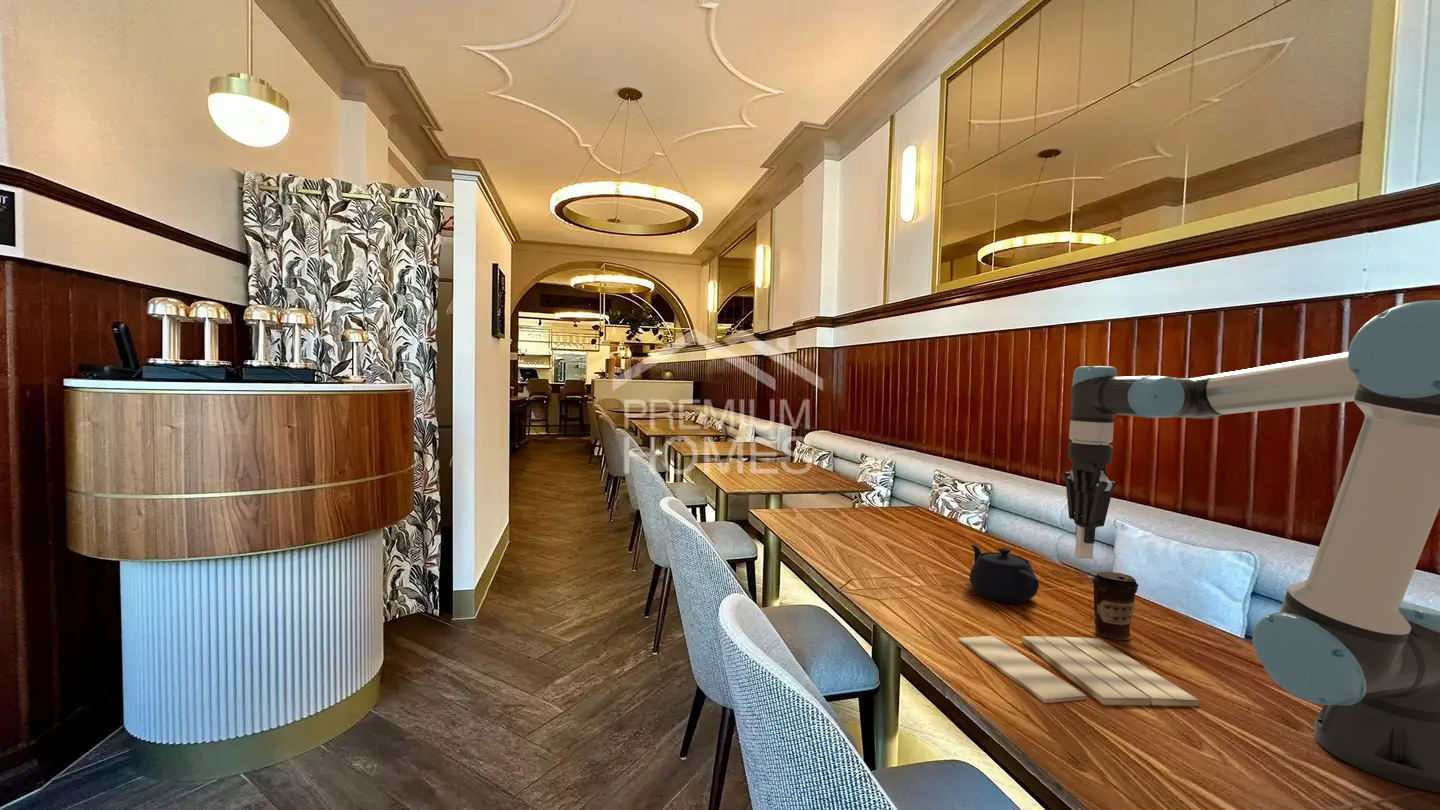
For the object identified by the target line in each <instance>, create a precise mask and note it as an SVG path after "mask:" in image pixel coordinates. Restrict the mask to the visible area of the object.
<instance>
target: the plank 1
mask: <svg viewBox="0 0 1440 810" xmlns="http://www.w3.org/2000/svg"><path fill="white" fill-rule="evenodd" d="M957 641H958V642H959V643H960V644H961V645H963V646H965V647H966V648H967V649H969V650H970V651H972V652H973V653H974V652H975V653H974V654H976V655H977V656H979V657H980V658H982V659H983V660H984V661H986V662H987V661H988V662H989V664H990V665H991V664H992V665H991V666H992V667H994V668H995V667H996V668H995V669H997V670H998V671H1000V672H1001V673H1002V674H1004V675H1005V676H1006V677H1008V678H1010V679H1011V680H1012V681H1014V682H1015V683H1017V684H1018V685H1019V686H1020V687H1022V688H1024V689H1025V690H1026V691H1028V692H1029V693H1031V694H1032V695H1034V696H1035V697H1036V698H1038V700H1040V701H1042V702H1043V703H1044V704H1048V703H1060V702H1061V703H1062V702H1073V701H1081V700H1082V701H1083V700H1087V695H1086V694H1085V693H1083V692H1082V691H1080V690H1079V689H1077V688H1075V687H1074V686H1072V685H1071V684H1069V683H1067V682H1066V681H1065V680H1063V679H1061V678H1060V677H1058V676H1056V675H1055V674H1053V673H1052V672H1050V671H1049V670H1047V669H1046V668H1044V667H1042V666H1041V665H1039V664H1038V663H1036V661H1035V662H1034V661H1033V660H1031V658H1028V657H1027V656H1025V655H1023V654H1022V653H1020V652H1019V651H1017V650H1016V649H1014V648H1012V647H1011V646H1009V645H1008V644H1006V643H1004V642H1003V641H1001V640H1000V639H998V638H997V637H996V636H994V635H984V636H982V635H981V636H980V635H979V636H967V637H958V638H957ZM988 662H987V663H988Z"/></svg>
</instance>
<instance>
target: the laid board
mask: <svg viewBox="0 0 1440 810" xmlns="http://www.w3.org/2000/svg"><path fill="white" fill-rule="evenodd" d="M1021 637H1022V638H1021V641H1022V643H1023V644H1024V645H1025V646H1026V647H1028V648H1030V650H1032V651H1033V652H1034V653H1036V654H1037V655H1039V656H1040V657H1041V658H1043V660H1044V661H1046V662H1047V663H1048V664H1050V665H1051V666H1053V667H1054V668H1055V669H1056V670H1058V671H1059V672H1060V673H1062V674H1063V675H1064V676H1065V677H1067V678H1068V679H1070V680H1071V681H1072V682H1073V683H1075V684H1076V685H1077V686H1078V687H1080V688H1081V689H1082V690H1083V691H1085V692H1086V693H1088V694H1089V695H1090V696H1091V697H1092V698H1094V699H1095V700H1097V701H1098V702H1099V703H1100V704H1102V705H1103V706H1151V704H1150V698H1149V697H1148V696H1146V695H1145V694H1143V693H1142V692H1140V691H1139V690H1137V689H1136V688H1135V687H1133V686H1132V685H1130V684H1129V683H1127V682H1126V681H1124V680H1123V679H1121V678H1120V677H1118V676H1117V675H1115V674H1114V673H1112V672H1111V671H1110V670H1108V669H1107V668H1105V667H1104V666H1102V665H1101V664H1099V663H1098V662H1096V661H1095V660H1093V659H1092V658H1090V657H1089V656H1087V655H1086V654H1085V653H1083V652H1082V651H1080V650H1079V649H1077V648H1076V647H1074V646H1073V645H1071V644H1070V643H1068V642H1067V641H1065V640H1064V639H1062V636H1043V635H1040V636H1038V635H1037V636H1036V635H1035V636H1034V635H1033V636H1032V635H1031V636H1027V635H1025V636H1024V635H1023V636H1021Z"/></svg>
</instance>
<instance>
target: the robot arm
mask: <svg viewBox="0 0 1440 810" xmlns="http://www.w3.org/2000/svg"><path fill="white" fill-rule="evenodd" d="M1070 389H1071V406H1070V421H1069V433H1068V439H1070V441H1071V442H1069V443H1068V451H1067V452H1068V453H1067V458H1068V460H1069V461H1072V462H1073V463H1072V466H1071V470H1069V471H1064V472H1063V479H1064V482H1065V489H1066V497H1067V498H1066V500H1067V501H1066V502H1067V511H1068V518H1069V519H1070V520H1073V523H1074V524H1075V550H1074V558H1075V557H1076V558H1078V559H1081V560H1082V559H1084V560H1093V559H1094V544H1095V538H1096V529H1097V528H1099V527H1100V528H1101V527H1103V528H1104V526H1105V523H1106V519H1107V515H1108V510H1109V507H1110V502H1111V498H1112V494H1113V492H1114V490H1115V488H1117V482H1116V481H1111V480H1110V479H1109V478H1108V477H1107V476H1108V471H1107V465H1108V464H1112V461H1113V446H1112V445H1111V444H1110V443H1112V442H1113V441H1114V423H1115V417H1116V416H1117V415H1118V416H1129V417H1141V418H1146V419H1160V418H1163V419H1165V418H1185V419H1186V418H1187V419H1196V420H1197V419H1198V420H1203V419H1207V420H1208V419H1214V418H1218V417H1220V416H1223V415H1230V414H1231V415H1232V414H1233V415H1234V414H1241V413H1249V412H1250V413H1251V412H1261V411H1271V410H1281V409H1291V408H1292V409H1293V408H1300V407H1301V408H1302V407H1310V406H1320V405H1330V404H1331V405H1332V404H1339V403H1348V402H1354V404H1355V406H1357V407H1358V409H1359V410H1360V411H1362V413H1363V415H1364V419H1363V422H1362V426H1361V429H1360V431H1359V432H1358V433H1359V434H1358V436H1357V439H1356V443H1355V445H1354V448H1353V451H1352V453H1351V456H1350V459H1349V462H1348V465H1347V467H1346V470H1345V473H1344V475H1343V479H1342V482H1341V484H1340V487H1339V490H1338V493H1337V496H1336V499H1335V501H1334V504H1333V506H1332V510H1331V513H1330V516H1329V517H1328V520H1327V524H1326V527H1325V530H1324V531H1323V535H1322V537H1321V541H1320V544H1319V546H1318V550H1317V552H1316V555H1315V558H1314V561H1313V563H1312V566H1311V569H1310V572H1309V575H1308V578H1307V579H1305V580H1302V581H1299V582H1295V583H1291V584H1290V585H1289V587H1288V588H1287V590H1286V592H1285V593H1286V594H1285V596H1284V599H1283V601H1282V604H1281V608H1280V610H1279V611H1277V612H1274V613H1270V614H1268V615H1266V616H1265V617H1263V618H1262V619H1260V620H1259V621H1258V622H1257V623H1256V624H1255V626H1254V628H1253V631H1252V647H1253V651H1254V653H1255V656H1256V658H1257V661H1259V662H1260V663H1261V665H1262V666H1263V668H1264V671H1265V673H1267V675H1268V676H1269V677H1270V678H1271V679H1272V680H1273V681H1274V683H1276V684H1277V685H1279V686H1280V687H1281V688H1282V689H1284V690H1285V691H1286V692H1288V693H1290V694H1291V695H1293V696H1295V697H1297V698H1298V699H1302V700H1304V701H1306V702H1310V703H1313V704H1317V705H1323V706H1322V708H1321V710H1320V711H1319V714H1318V715H1317V716H1316V718H1315V720H1314V727H1313V738H1314V739H1315V741H1316V742H1317V743H1318V745H1320V746H1321V748H1324V750H1326V751H1327V752H1328V753H1330V754H1332V755H1333V756H1335V757H1337V758H1338V759H1340V760H1342V761H1343V762H1345V763H1348V764H1350V765H1352V766H1354V767H1356V768H1358V769H1360V770H1363V771H1365V772H1367V773H1369V774H1372V775H1375V776H1377V777H1380V778H1382V779H1385V780H1388V781H1391V782H1394V783H1396V784H1399V785H1404V786H1407V787H1411V788H1415V789H1417V790H1423V791H1428V792H1432V793H1438V794H1440V610H1437V609H1433V608H1430V607H1427V606H1423V605H1420V604H1415V603H1411V602H1409V601H1404V598H1405V595H1406V592H1407V589H1408V588H1409V585H1410V582H1411V580H1412V577H1413V575H1414V573H1415V570H1416V567H1417V564H1418V562H1419V560H1420V557H1421V555H1422V553H1423V550H1424V547H1425V545H1426V542H1427V540H1428V538H1429V535H1430V532H1431V530H1432V527H1433V525H1434V523H1435V520H1436V518H1437V515H1438V513H1439V510H1440V299H1434V300H1432V299H1431V300H1429V299H1428V300H1419V301H1413V302H1408V303H1403V304H1400V305H1396V306H1395V307H1394V306H1393V307H1392V308H1389V309H1386V310H1385V311H1383V312H1381V313H1379V314H1377V315H1375V316H1374V317H1372V318H1371V319H1370V320H1369V321H1367V322H1366V323H1365V324H1364V325H1362V327H1361V328H1360V329H1359V330H1357V332H1356V334H1355V335H1354V336H1353V338H1352V340H1351V341H1350V345H1349V347H1348V351H1346V352H1340V353H1334V354H1329V355H1322V356H1317V357H1311V358H1310V357H1309V358H1305V359H1299V360H1295V361H1294V360H1293V361H1286V362H1281V363H1275V364H1270V365H1269V364H1268V365H1263V366H1258V367H1253V368H1252V367H1251V368H1247V369H1241V370H1235V371H1228V372H1221V373H1217V374H1210V375H1204V376H1197V377H1189V378H1186V377H1185V378H1183V377H1171V376H1163V375H1153V374H1152V375H1151V374H1150V375H1137V376H1135V375H1133V376H1129V375H1128V376H1118V370H1117V368H1116V367H1115V366H1103V365H1097V366H1096V365H1092V366H1090V365H1089V366H1087V365H1086V366H1085V365H1084V366H1083V365H1082V366H1078V367H1076V368H1075V369H1074V370H1073V377H1072V383H1071V387H1070Z"/></svg>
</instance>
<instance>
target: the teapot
mask: <svg viewBox="0 0 1440 810" xmlns="http://www.w3.org/2000/svg"><path fill="white" fill-rule="evenodd" d="M970 547H971V548H972V549H973V552H974V553H973V554H974V563H973V566H972V568H971V570H970V572H969V583H970V585H971V586H972V587H973V588H974V590H975V591H976V592H977V593H978V594H979V595H980V596H982V597H984V598H986V599H989V600H992V601H994V602H995V601H996V602H1000V603H1006V604H1007V603H1008V604H1021V603H1026V602H1028V601H1029V600H1030V599H1032V598H1034V597H1035V596H1036V595H1037V592H1038V590H1039V586H1040V585H1039V584H1040V583H1039V582H1040V581H1039V579H1038V578H1037V576H1036V574H1035V571H1034V569H1033V567H1032V565H1031V562H1030V561H1029V560H1028V559H1026V558H1025V557H1022V556H1018V555H1014V554H1011V552H1012V550H1011V549H1009V548H1008V547H1007V548H1006V547H999V548H998V551H999V552H989V551H988V552H983V553H982V551H981V549H980V547H979V546H977V545H975V544H971V545H970ZM1009 553H1010V554H1009Z"/></svg>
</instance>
